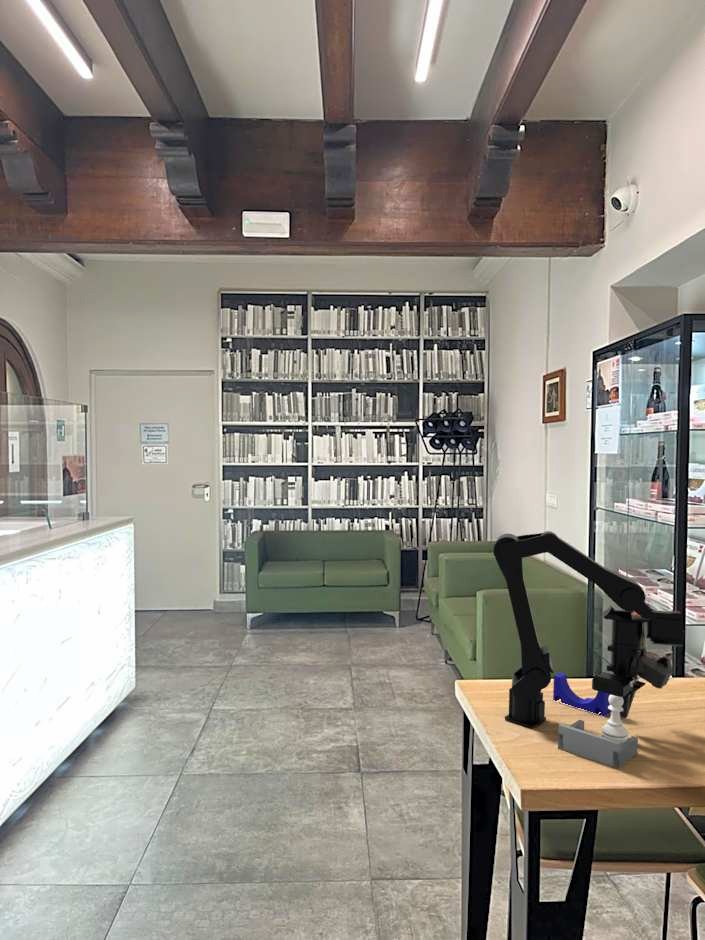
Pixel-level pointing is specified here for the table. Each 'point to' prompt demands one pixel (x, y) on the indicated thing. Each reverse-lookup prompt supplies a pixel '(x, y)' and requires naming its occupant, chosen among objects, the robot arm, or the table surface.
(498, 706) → the table surface
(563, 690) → the blue concave cradle
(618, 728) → the chess pawn
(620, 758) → the box
